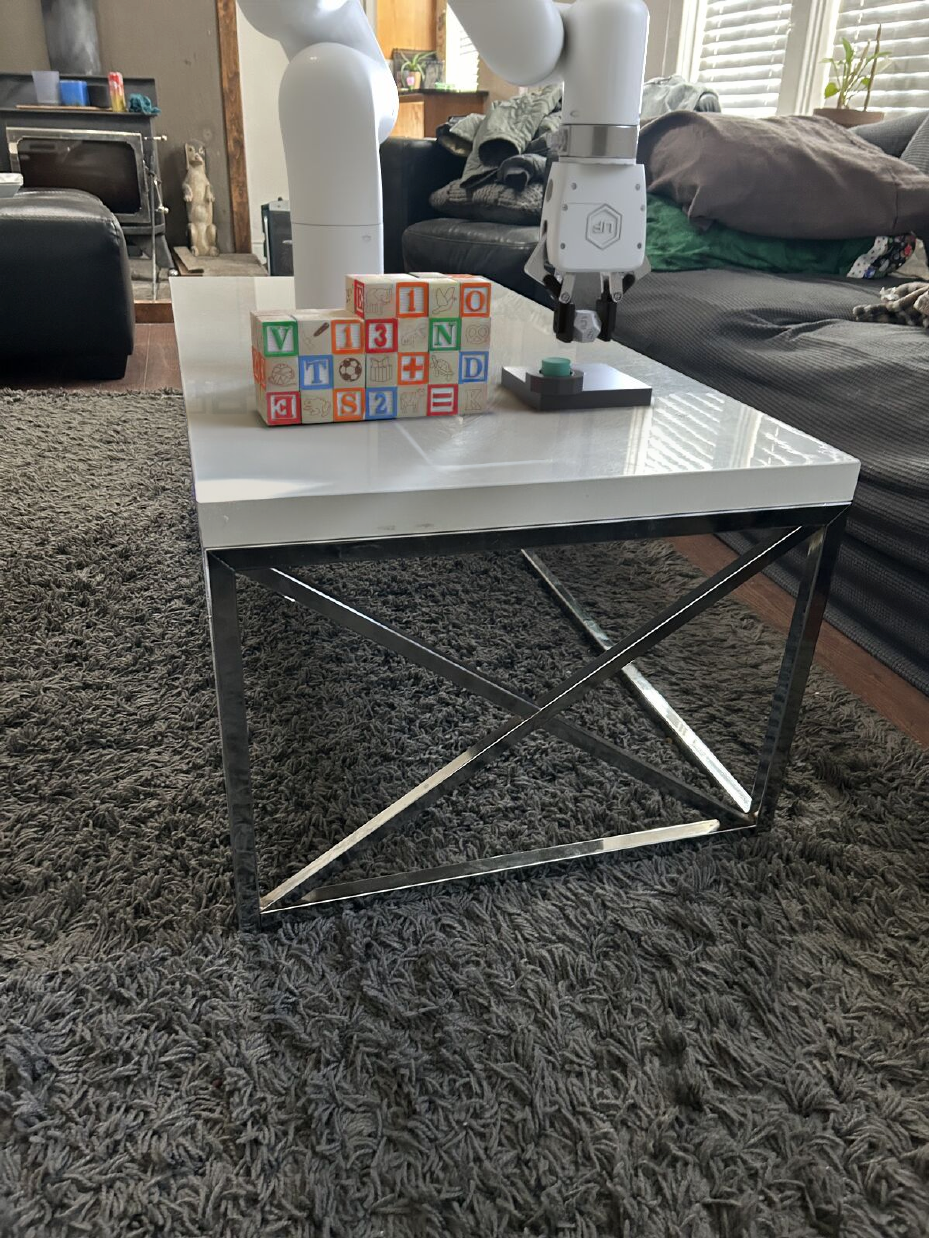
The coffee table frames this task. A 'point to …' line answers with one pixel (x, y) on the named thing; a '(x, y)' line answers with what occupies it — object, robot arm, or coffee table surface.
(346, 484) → the coffee table surface
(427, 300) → the stack of blocks
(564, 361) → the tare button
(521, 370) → the dark grey flat block
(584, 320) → the game die
